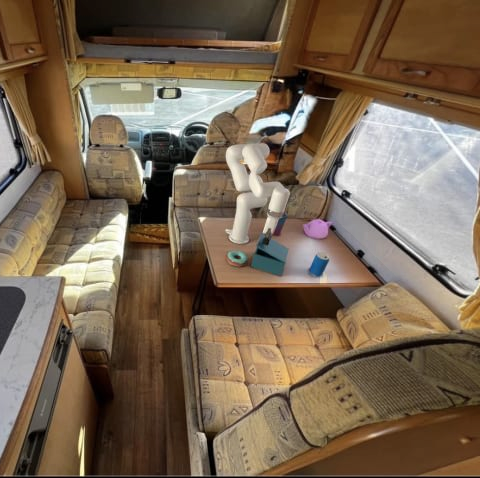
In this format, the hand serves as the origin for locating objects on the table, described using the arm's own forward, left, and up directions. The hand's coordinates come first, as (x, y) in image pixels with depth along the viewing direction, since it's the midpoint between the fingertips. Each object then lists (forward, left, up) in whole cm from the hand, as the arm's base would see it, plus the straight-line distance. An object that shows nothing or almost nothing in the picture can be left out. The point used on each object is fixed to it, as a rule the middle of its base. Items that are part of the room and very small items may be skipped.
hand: (266, 241), depth 140 cm
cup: (+3, +35, -15) cm, 38 cm away
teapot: (+25, +47, -15) cm, 55 cm away
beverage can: (+28, +5, -15) cm, 32 cm away
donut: (-12, -6, -15) cm, 20 cm away
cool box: (+4, 0, -14) cm, 15 cm away
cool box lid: (+4, 0, -3) cm, 5 cm away
